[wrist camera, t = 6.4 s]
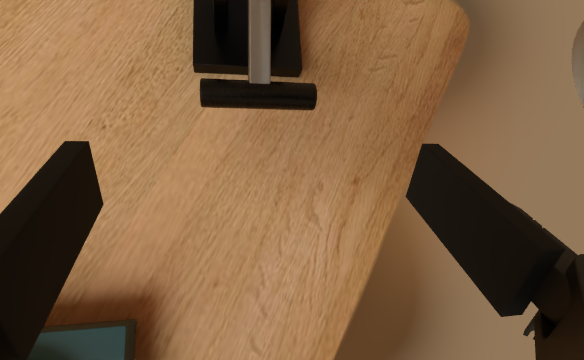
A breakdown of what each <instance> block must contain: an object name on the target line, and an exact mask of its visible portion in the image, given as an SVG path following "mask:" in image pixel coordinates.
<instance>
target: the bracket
mask: <svg viewBox="0 0 584 360" xmlns="http://www.w3.org/2000/svg"><path fill="white" fill-rule="evenodd" d="M193 67H194V72H195V73H215V74H236V75H248V0H194V16H193ZM301 71H302V59H301V44H300V29H299V14H298V0H271V76H278V77H299V76H300V74H301Z"/></svg>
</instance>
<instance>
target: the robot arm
mask: <svg viewBox="0 0 584 360" xmlns="http://www.w3.org/2000/svg"><path fill="white" fill-rule="evenodd" d="M406 198H407V199H408V200H409V201H410V203H411V204H412V205H413V207H414V208H415V209H416V210H417V212H418V213H419V214H420V215H421V217H422V218H423V219H424V220H425V222H426V223H427V224H428V225H429V227H430V228H431V229H432V231H433V232H434V233H435V234H436V235H437V237H438V238H439V239H440V241H441V242H442V243H443V244H444V246H445V247H446V248H447V249H448V251H449V252H450V253H451V254H452V256H453V257H454V258H455V259H456V261H457V262H458V263H459V265H460V266H461V267H462V268H463V270H464V271H465V272H466V273H467V274H468V276H469V277H470V278H471V280H472V281H473V282H474V283H475V285H476V286H477V287H478V288H479V290H480V291H481V292H482V294H483V295H484V296H485V297H486V299H487V300H488V301H489V302H490V303H491V305H492V306H493V307H494V309H495V310H496V311H497V312H498V314H499V315H500V316H501V317H504V316H514V315H522V314H523V312H524V311H525V309H526V308H527V306H528V305H529V303H530V302H531V301H532V302H533V303H534V304H535V306H536V307H537V308H538V309H539V310H538V312H537V313H536V315H535V316H534V317H533V319H532V320H531V322H530V323H529V325H528V326H527V328H526V329H525V331H524V334H523V335H525V336H528V335H529V333H530V332H531V331H533V330H535V336H534V338H533V339H534V340H535V352H536V360H584V254H580V255H577V254H576V253H575V252H573V251H572V250H571V249H569V248H568V247H567V246H566V245H565V244H564V243H562V242H561V241H560V240H559V239H557V238H556V237H555V236H554V235H552V234H551V233H550V232H549V231H548V230H546V229H545V228H542V226H541V225H540V224H539V223H538V222H537V221H535V220H533V218H532V217H530V216H529V215H528V214H527V213H526V212H524V211H523V210H522V209H520V208H518V207H517V206H515V205H513V204H511V203H509V202H508V201H507V200H505V199H504V198H503V197H502V196H501V195H499V194H498V193H497V192H496V191H495V190H493V189H492V188H491V187H490V186H489V185H487V184H486V183H485V182H484V181H482V180H481V179H480V178H479V177H478V176H476V175H475V174H474V173H473V172H472V171H470V170H469V169H468V168H467V167H466V166H464V165H463V164H462V163H461V162H460V161H458V160H457V159H456V158H455V157H453V156H452V155H451V154H450V153H449V152H447V151H446V150H445V149H444V148H443V147H441V146H440V145H439V144H422V146H421V149H420V153H419V156H418V159H417V162H416V165H415V169H414V172H413V175H412V178H411V181H410V185H409V188H408V191H407V194H406ZM102 206H103V200H102V196H101V192H100V187H99V183H98V179H97V175H96V171H95V166H94V162H93V158H92V154H91V149H90V145H89V141H65V142H64V143H63V144H62V145H61V146H60V147H59V148H58V150H57V151H56V152H55V153H54V154H53V155H52V156H51V157H50V159H49V160H48V161H47V162H46V163H45V164H44V165H43V166H42V168H41V169H40V170H39V171H38V172H37V173H36V174H35V175H34V177H33V178H32V179H31V180H30V181H29V182H28V183H27V184H26V186H25V187H24V188H23V189H22V190H21V191H20V192H19V194H18V195H17V196H16V197H15V198H14V199H13V200H12V201H11V203H10V204H9V205H8V206H7V207H6V208H5V209H4V210H3V212H2V213H1V214H0V360H27V359H28V357H29V355H30V353H31V351H32V349H33V347H34V345H35V343H36V341H37V338H38V336H39V334H40V332H41V330H42V328H43V326H44V324H45V322H46V320H47V318H48V316H49V314H50V312H51V310H52V308H53V306H54V304H55V302H56V300H57V298H58V296H59V294H60V292H61V290H62V288H63V286H64V284H65V282H66V280H67V277H68V275H69V273H70V271H71V269H72V267H73V265H74V263H75V261H76V259H77V257H78V255H79V253H80V251H81V249H82V247H83V245H84V243H85V241H86V239H87V237H88V235H89V233H90V231H91V229H92V227H93V225H94V223H95V221H96V219H97V217H98V214H99V212H100V210H101V208H102Z"/></svg>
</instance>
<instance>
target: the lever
mask: <svg viewBox="0 0 584 360" xmlns="http://www.w3.org/2000/svg"><path fill="white" fill-rule="evenodd" d="M316 101H317V89H316V85H315V84H314V83H294V82H271V0H248V80H226V79H204V78H202V79H201V80H200V102H201V107H212V108H246V109H280V110H314V109H315V106H316Z"/></svg>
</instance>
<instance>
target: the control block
mask: <svg viewBox="0 0 584 360" xmlns="http://www.w3.org/2000/svg"><path fill="white" fill-rule="evenodd" d="M135 333H136V320H123V321H111V322H98V323H86V324H74V325H62V326H49V327H43V328H42V330H41V332H40V334H39V336H38V338H37V341H36V343H35V345H34V347H33V349H32V351H31V353H30V355H29V357H28V359H27V360H134V355H135Z"/></svg>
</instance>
